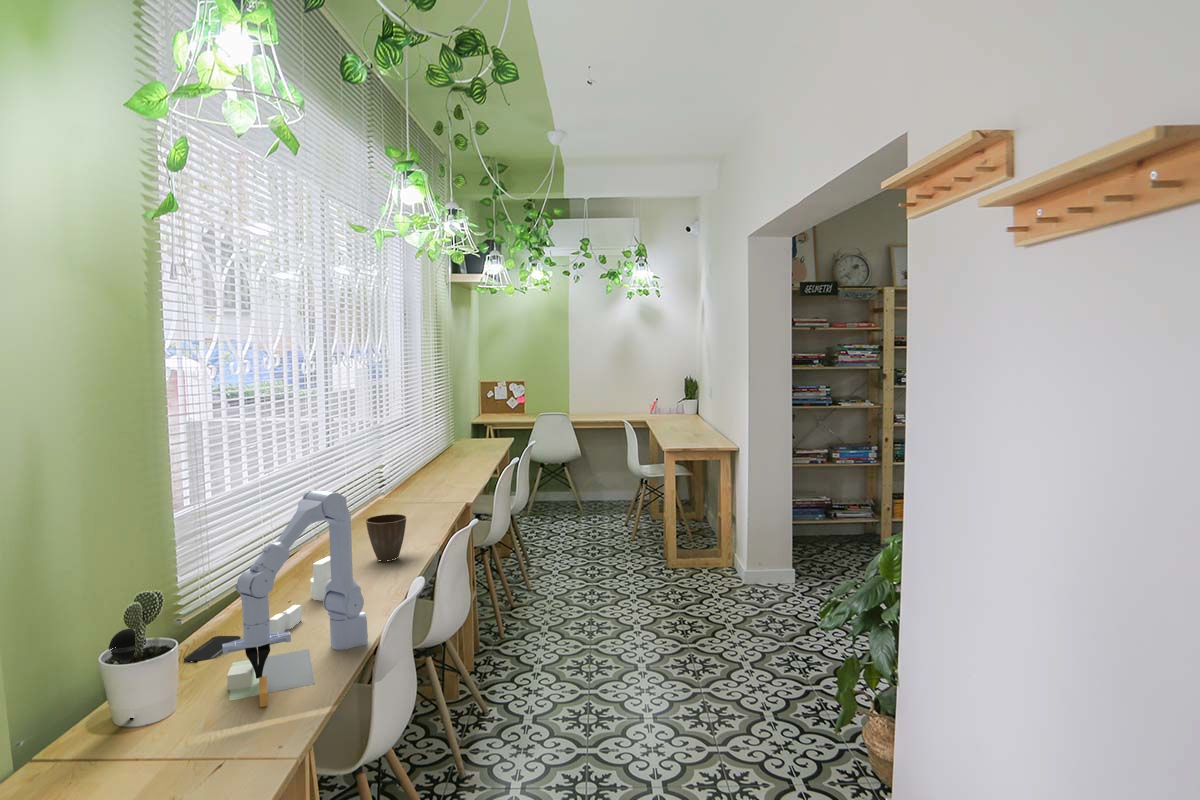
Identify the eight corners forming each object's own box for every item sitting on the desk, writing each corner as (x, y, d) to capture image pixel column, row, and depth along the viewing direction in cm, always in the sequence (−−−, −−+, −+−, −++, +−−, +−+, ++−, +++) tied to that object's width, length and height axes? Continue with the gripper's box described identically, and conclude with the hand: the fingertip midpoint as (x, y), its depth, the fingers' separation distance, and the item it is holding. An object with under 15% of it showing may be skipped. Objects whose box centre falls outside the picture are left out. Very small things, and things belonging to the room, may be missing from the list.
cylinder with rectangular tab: (321, 590, 236) (320, 555, 235) (345, 592, 234) (344, 556, 233) (305, 599, 227) (303, 563, 226) (330, 601, 225) (329, 564, 224)
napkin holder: (300, 618, 212) (300, 599, 212) (318, 627, 205) (317, 608, 204) (249, 633, 201) (248, 613, 201) (265, 643, 194) (264, 623, 193)
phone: (242, 636, 196) (211, 659, 181) (242, 639, 196) (211, 663, 182) (214, 635, 197) (181, 659, 182) (214, 639, 197) (181, 663, 182)
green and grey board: (308, 652, 187) (308, 648, 187) (315, 687, 167) (315, 683, 167) (232, 666, 179) (232, 662, 179) (229, 705, 159) (229, 700, 159)
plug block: (254, 677, 170) (253, 663, 170) (251, 686, 166) (250, 672, 165) (231, 680, 169) (230, 666, 168) (227, 690, 164) (227, 675, 164)
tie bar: (267, 688, 164) (266, 675, 164) (267, 705, 156) (267, 692, 156) (259, 689, 163) (259, 677, 163) (259, 707, 155) (259, 694, 155)
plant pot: (360, 564, 264) (358, 522, 263) (377, 553, 279) (376, 513, 278) (398, 565, 263) (397, 523, 262) (413, 554, 277) (412, 514, 276)
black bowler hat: (144, 724, 151) (139, 633, 150) (107, 729, 149) (102, 637, 148) (154, 708, 158) (150, 621, 156) (119, 713, 156) (114, 625, 154)
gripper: (287, 609, 174) (289, 663, 175) (221, 621, 167) (223, 677, 168) (290, 619, 168) (293, 674, 169) (222, 631, 161) (224, 689, 162)
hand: (258, 676), depth 168 cm, fingers closed
